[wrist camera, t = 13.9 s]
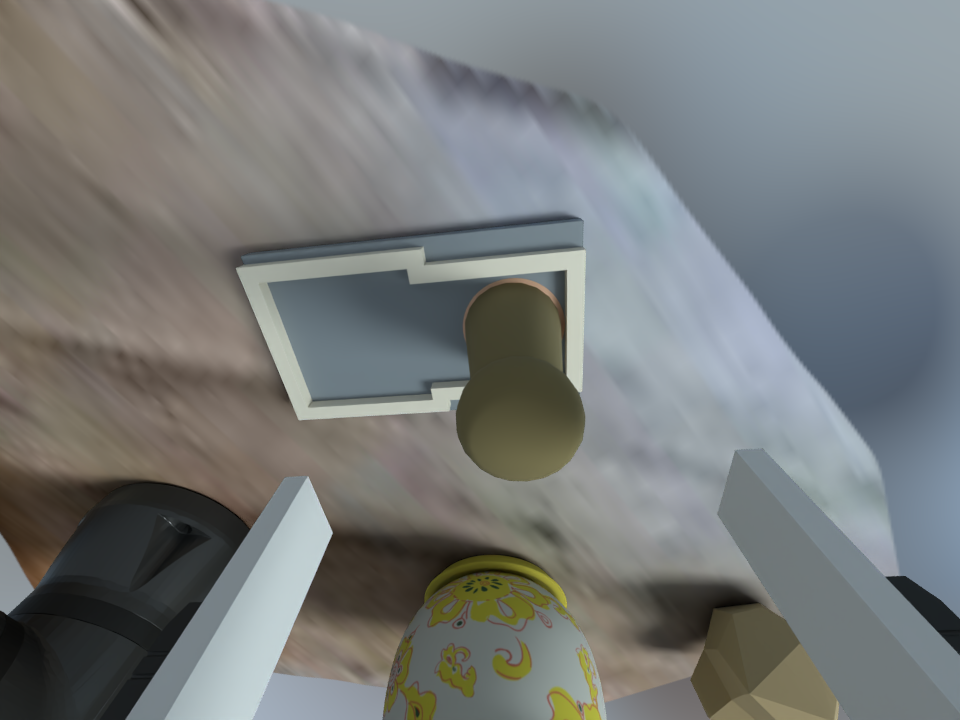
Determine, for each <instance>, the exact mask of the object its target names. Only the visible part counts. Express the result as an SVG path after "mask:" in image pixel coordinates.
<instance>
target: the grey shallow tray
mask: <svg viewBox="0 0 960 720" xmlns="http://www.w3.org/2000/svg"><path fill="white" fill-rule="evenodd" d="M583 225H584V221H583V220H582V219H580V218H577V219H568V220H558V221H549V222H539V223H530V224H520V225H511V226H501V227H492V228H482V229H472V230H463V231H453V232H444V233H434V234H425V235H415V236H406V237H396V238H387V239H377V240H368V241H358V242H348V243H339V244H329V245H320V246H310V247H301V248H291V249H282V250H272V251H263V252H253V253H249V254H246V255H243V256H241V259H242V261H243V264H244V265H242V266H240V267H237V268H236V270H237V273H238V275H239V278H240V280H241V282H242V285H243V287H244V290H245V292H246V294H247V297H248V299H249V302H250V304H251V306H252V309H253V311H254V314H255V316H256V318H257V321H258V323H259V326H260V328H261V330H262V333H263V335H264V338H265V340H266V342H267V345H268V347H269V350H270V352H271V354H272V357H273V359H274V362H275V364H276V366H277V369H278V371H279V374H280V376H281V378H282V381H283V383H284V386H285V388H286V390H287V393H288V395H289V398H290V400H291V403H292V405H293V407H294V410H295V412H296V415H297V417H298V419H299V420H310V419H326V418H343V417H360V416H376V415H393V414H409V413H426V412H443V411H450V410H457V405H458V402H459V400H460V397H461V394H462V391H463V389H464V387H465V386H466V385H467V383H468V382H469V381H470V371H469V363H468V354H467V345H466V337H465V320H466V317H467V314H468V311H469V308H470V307H471V305H472V304H473V303H474V301H475V300H476V298H477V297H478V296H479V295H481V294H482V293H484V292H485V291H486V290H488V289H489V288H491V287H494V286H497V285H500V284H503V283H524V284H527V285H530V286H534V287H537V288H538V289H540V290H541V291H542V292H544V293H545V294H546V295H548V296H549V297H550V299H551V300H552V302H553V303H554V304H555V306H556V307H557V309H558V313H559V317H560V321H561V338H562V363H563V373H564V374H565V375H566V376H567V377H568V378H569V380H570V381H571V382H572V384H573V385H574V386H575V388H576V389H577V391H578V392H579V395H580V392H582V378H583V341H584V303H585V266H586V249H585V248H584V247H583Z"/></svg>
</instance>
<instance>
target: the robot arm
mask: <svg viewBox="0 0 960 720" xmlns="http://www.w3.org/2000/svg"><path fill="white" fill-rule="evenodd" d="M717 515H718V516H719V518H720V519H721V521H722V522H723V524H724V525H725V527H726V528H727V530H728V532H729V533H730V535H731V536H732V538H733V539H734V541H735V542H736V544H737V546H738V547H739V549H740V550H741V552H742V553H743V555H744V556H745V558H746V559H747V561H748V563H749V564H750V566H751V567H752V569H753V570H754V572H755V573H756V575H757V576H758V578H759V580H760V581H761V583H762V584H763V586H764V587H765V589H766V590H767V592H768V594H769V595H770V597H771V598H772V600H773V601H774V603H775V604H776V606H777V607H778V609H779V611H780V612H781V614H782V615H783V617H784V618H785V620H786V621H787V623H788V625H789V626H790V628H791V629H792V631H793V632H794V634H795V635H796V637H797V638H798V640H799V642H800V643H801V645H802V646H803V648H804V649H805V651H806V652H807V654H808V656H809V657H810V659H811V660H812V662H813V663H814V665H815V666H816V668H817V669H818V671H819V673H820V674H821V676H822V677H823V679H824V680H825V682H826V683H827V685H828V686H829V688H830V690H831V691H832V693H833V694H834V696H835V697H836V699H837V700H838V702H839V704H840V705H841V706H842V708H843V710H844V711H845V713H846V714H847V716H848V717H849V719H850V720H960V619H959V618H958V617H957V616H956V615H955V614H954V613H953V612H952V611H951V610H950V609H949V608H948V607H947V606H946V605H945V604H944V603H943V602H942V601H941V600H940V599H938V598H937V597H935V596H934V595H932V594H931V593H929V592H928V591H926V590H925V589H923V588H922V587H920V586H919V585H918V584H916V583H915V582H913V581H912V580H910V579H909V578H907V577H906V576H892V577H885V576H884V575H883V574H882V573H881V572H880V571H879V570H878V569H877V568H876V567H875V566H874V565H873V564H872V563H871V562H870V561H869V560H868V558H867V557H866V556H865V555H864V554H863V553H862V552H861V551H860V550H859V549H858V548H857V547H856V546H855V545H854V544H853V543H852V542H851V541H850V540H849V539H848V538H847V536H846V535H845V534H844V533H843V532H842V531H841V530H840V529H839V528H838V527H837V526H836V525H835V524H834V523H833V522H832V521H831V520H830V519H829V518H828V517H827V516H826V514H825V513H824V512H823V511H822V510H821V509H820V508H819V507H818V506H817V505H816V504H815V503H814V502H813V501H812V500H811V499H810V498H809V497H808V496H807V495H806V493H805V492H804V491H803V490H802V489H801V488H800V487H799V486H798V485H797V484H796V483H795V482H794V481H793V480H792V479H791V478H790V477H789V476H788V475H787V474H786V473H785V471H784V470H783V469H782V468H781V467H780V466H779V465H778V464H777V463H776V462H775V461H774V460H773V459H772V458H771V457H770V456H769V455H768V454H767V453H766V452H765V451H764V449H763V448H761V449H745V450H735V453H734V456H733V460H732V463H731V467H730V471H729V474H728V478H727V482H726V485H725V489H724V492H723V496H722V500H721V503H720V507H719V510H718V514H717ZM332 534H333V532H332V530H331V528H330V525H329V523H328V521H327V518H326V516H325V514H324V512H323V509H322V507H321V505H320V502H319V500H318V498H317V496H316V493H315V491H314V489H313V486H312V484H311V482H310V480H309V477H308V476H298V477H285V478H284V480H283V481H282V483H281V484H280V486H279V487H278V489H277V490H276V492H275V493H274V495H273V496H272V498H271V499H270V501H269V503H268V504H267V506H266V507H265V509H264V510H263V512H262V513H261V515H260V516H259V518H258V519H257V521H256V522H255V524H254V525H253V527H252V528H251V530H249V529H248V527H247V526H246V525H245V524H244V523H243V522H242V521H241V520H240V519H239V518H238V517H236V516H235V515H234V514H233V513H231V512H230V511H228V510H227V509H226V508H224V507H222V506H221V505H219V504H217V503H216V502H214V501H212V500H210V499H208V498H206V497H204V496H201V495H199V494H196V493H194V492H191V491H188V490H185V489H181V488H178V487H173V486H168V485H162V484H152V483H140V484H131V485H127V486H123V487H120V488H118V489H116V490H114V491H112V492H111V493H109V494H108V495H107V496H106V497H105V498H103V499H102V500H101V501H100V502H99V503H98V504H96V505H95V506H94V507H93V508H92V509H91V510H89V511H88V512H87V513H86V515H85V516H84V517H83V518H82V519H81V521H80V522H79V525H78V527H77V529H76V531H75V532H74V533H73V535H72V536H71V537H70V539H69V540H68V542H67V543H66V544H65V546H64V547H63V549H62V550H61V552H60V553H59V555H58V556H57V557H56V559H55V560H54V562H53V563H52V565H51V566H50V568H49V569H48V571H47V573H46V574H45V576H44V577H43V579H42V580H41V582H40V583H39V584H38V586H37V587H36V588H35V590H34V591H33V592H32V593H31V594H30V595H29V596H28V597H27V598H25V599H24V600H23V601H22V602H21V603H20V604H19V605H18V606H17V607H16V608H15V609H14V610H13V611H11V612H10V613H9V614H8V615H6V614H5V613H4V612H2V611H0V720H253V717H254V715H255V713H256V710H257V708H258V706H259V703H260V701H261V699H262V696H263V694H264V692H265V689H266V687H267V685H268V683H269V680H270V678H271V676H272V673H273V671H274V669H275V666H276V664H277V662H278V659H279V657H280V655H281V652H282V650H283V648H284V645H285V643H286V641H287V638H288V636H289V634H290V631H291V629H292V627H293V624H294V622H295V620H296V617H297V615H298V613H299V610H300V608H301V606H302V603H303V601H304V599H305V597H306V594H307V592H308V590H309V587H310V585H311V583H312V580H313V578H314V576H315V573H316V571H317V569H318V566H319V564H320V562H321V559H322V557H323V555H324V552H325V550H326V548H327V545H328V543H329V541H330V538H331V536H332Z"/></svg>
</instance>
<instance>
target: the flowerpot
mask: <svg viewBox="0 0 960 720" xmlns="http://www.w3.org/2000/svg"><path fill="white" fill-rule="evenodd" d="M383 720H607V719H606V711H605V705H604V699H603V693H602V688H601V683H600V679H599V675H598V671H597V667H596V664H595V661H594V658H593V655H592V652H591V650H590V647H589V645H588V643H587V641H586V639H585V637H584V635H583V633H582V631H581V629H580V627H579V626H578V624H577V623H576V621H575V620H574V618H573V617H572V615H571V614H570V613H569V612H568V610H567V601H566V597H565V594H564V592H563V590H562V589H561V587H560V586H559V585H558V584H557V583H556V582H555V581H554V580H553V579H552V578H550V577H549V576H548V575H547V574H546V573H545V572H544V571H543V570H542V569H540V568H539V567H537V566H536V565H534V564H532V563H529V562H527V561H525V560H522V559H518V558H514V557H510V556H503V555H481V556H474V557H470V558H466V559H463V560H460V561H458V562H456V563H454V564H452V565H450V566H449V567H448V568H446V569H445V570H444V571H443V572H442V573H441V574H439V575H438V576H437V577H436V578H434V579H433V580H432V581H431V583H430V584H429V586H428V587H427V589H426V592H425V597H424V604H423V606H422V607H421V608H420V609H419V610H418V612H417V613H416V614H415V616H414V617H413V619H412V620H411V622H410V624H409V625H408V627H407V629H406V631H405V633H404V635H403V637H402V639H401V641H400V644H399V646H398V649H397V652H396V655H395V658H394V661H393V665H392V669H391V673H390V677H389V682H388V687H387V692H386V698H385V705H384V711H383Z"/></svg>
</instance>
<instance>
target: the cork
mask: <svg viewBox="0 0 960 720" xmlns="http://www.w3.org/2000/svg"><path fill="white" fill-rule="evenodd" d="M465 337H466V345H467V354H468V363H469V371H470V381H469V382H468V383H467V385H466V386H465V387H464V389H463V391H462V394H461V397H460V400H459V402H458V405H457V410H456V426H457V433H458V438H459V440H460V442H461V445H462V447H463V449H464V451H465V453H466V454H467V455H468V456H469V457H470V458H471V459H472V461H473V462H474V463H475V464H476V465H477V466H478V467H479V468H480V469H482V470H483V471H485V472H487V473H489V474H491V475H492V476H494V477H498V478H501V479H505V480H509V481H531V480H536V479H541V478H545V477H547V476H549V475H551V474H553V473H555V472H557V471H559V470H560V469H561V468H562V467H564V466H565V465H566V464H567V463H568V462H569V461H570V460H571V459H572V457H573V456H574V454H575V452H576V451H577V449H578V447H579V446H580V444H581V442H582V439H583V433H584V427H585V413H584V409H583V405H582V401H581V398H580V395H579V392H578V391H577V389H576V388H575V386H574V385H573V384H572V382H571V381H570V380H569V378H568V377H567V376H566V375H565V374H564V373H563V363H562V338H561V321H560V317H559V313H558V309H557V307H556V306H555V304H554V303H553V302H552V300H551V299H550V297H549V296H548V295H546V294H545V293H544V292H542V291H541V290H540V289H538V288H537V287H534V286H530V285H527V284H524V283H503V284H500V285H497V286H494V287H491V288H489V289H488V290H486V291H485V292H484V293H482V294H481V295H479V296H478V297H477V298H476V300H475V301H474V303H473V304H472V305H471V307H470V308H469V311H468V314H467V317H466V320H465Z"/></svg>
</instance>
